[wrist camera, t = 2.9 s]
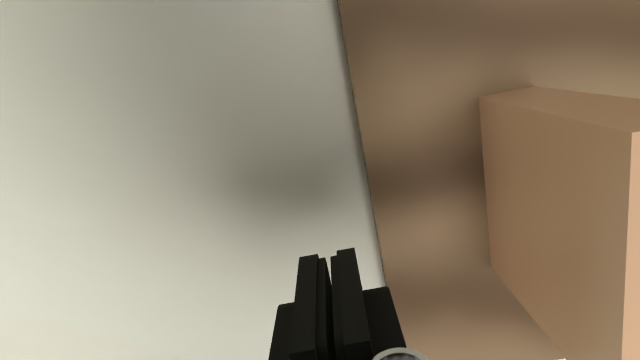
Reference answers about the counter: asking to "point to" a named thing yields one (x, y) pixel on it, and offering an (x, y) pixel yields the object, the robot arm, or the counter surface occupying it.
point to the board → (464, 145)
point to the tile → (567, 214)
